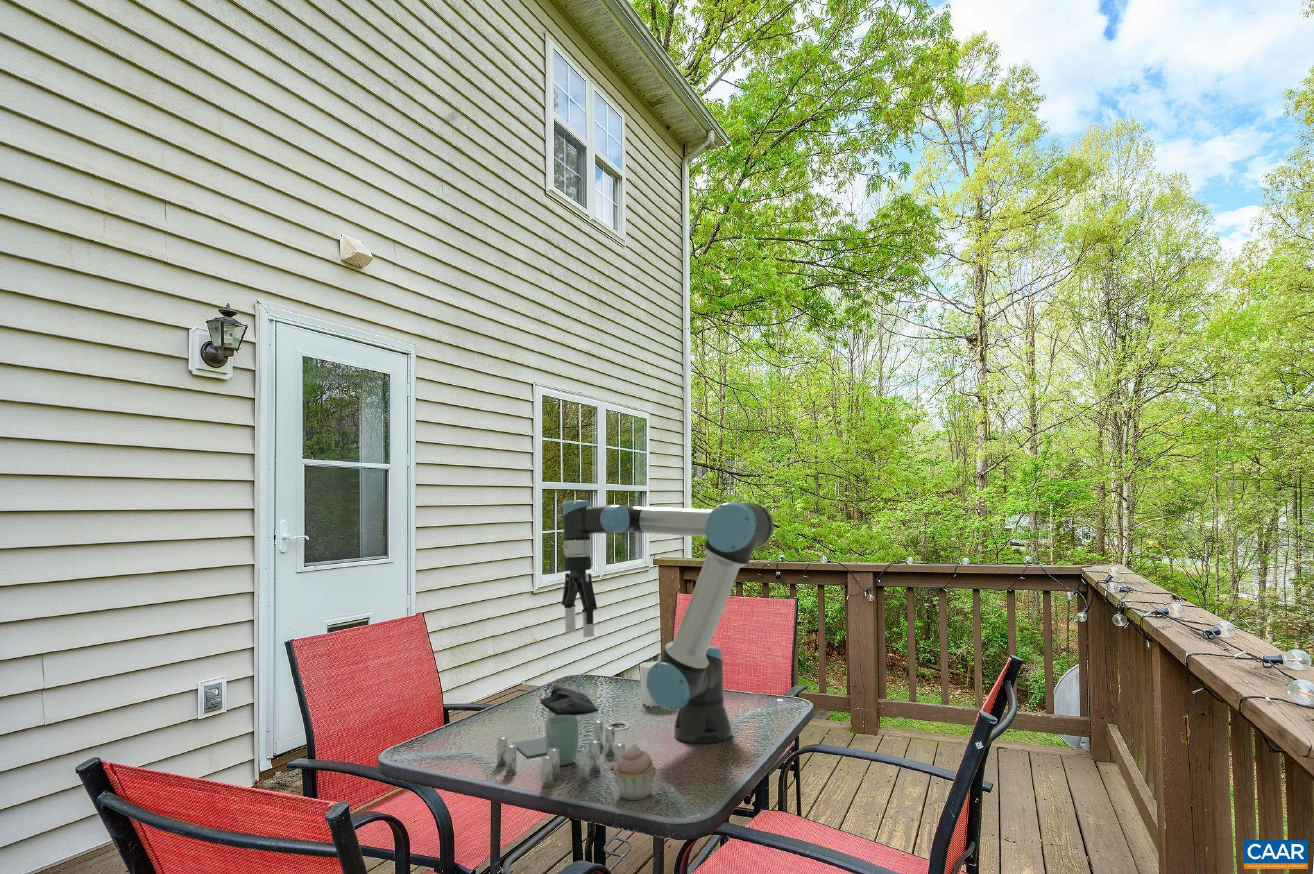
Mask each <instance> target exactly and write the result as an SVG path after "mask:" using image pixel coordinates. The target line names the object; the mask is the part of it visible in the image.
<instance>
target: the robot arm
mask: <svg viewBox="0 0 1314 874" xmlns="http://www.w3.org/2000/svg"><path fill="white" fill-rule="evenodd" d="M562 509H563V510H562V511H563V512H562V522H563V523H562V524H563V544H562V545H561V546H562V548H563V555H564V556H565V557H564V558H563V565H564V566H563V569H564V571H565V575H564V578H565V579H564V587H563V593H562V598H561V599H562V601H561V606H563V608H564V610H565V611H564V612H565V613H564V615H565V617H564V619H565V624H564V625H565V633H571V632H573V633H574V632H576V604H575V603H576V599H577V595H579V598H580V601H581V604H582V608H583V609H582V610H581V613H582V630H583V632H582V637H583V638H591V637H594V636H595V630H594V627H595V626H594V611H595V610H597V609H598V606H597V601H596V596H595V590H594V586H593V582H592V581H593V580H592V574H591V573H587V571H588V570H589V571H590V570H591V569H592V557H591V556H590V555H591V554H592V542H591V535H592V534H593V535H595V534H616V533H617V534H619V533H638V534H655V535H657V534H658V535H673V536H684V537H685V536H686V537H687V536H689V537H703V538H706V540H705V543H704V546H703V548H704V550H705V552H706V557H705V560H704V562H703V565H702V567H701V570H700V572H699V576H698V578H697V580H696V583H695V584H694V585H695V586H694V588H693V591H692V594H691V595H690V597H689V598H690V599H689V601H688V603H687V606H686V609H685V610H684V611H685V612H684V614H683V617H682V619H681V622H680V623H679V627H678V629H677V631H676V634H675V636H674V639H673V641H670V642H668V643H666V644H665V647H664V648H663V651H662V654H661V657H660V659H659V662H657V663H655V664H654V665H653V666H652V667H651V668H650V669H649V671H648V674H647V678H646V685H647V690H648V691H649V693H650V697H651V698H652V700H653V701H654V702H655V703H656V704H657V705H658V706H660V707H659V708H662V709H664V710H667V711H674V710H677V709H678V711H677V715H676V719H675V723H674V728H673V730H674V732H673V733H674V737H675V738H676V739H677V740H679V741H682V742H686V743H691V744H712V743H713V744H715V743H720V742H724V741H726V740H728V739H730V738H731V737H732V724H731V721H730V719H729V716H728V712H727V711H726V707H725V703H724V702H725V701H724V675H723V674H724V673H723V672H724V671H723V670H724V669H723V662H724V660H723V653H722V649H721V648H720V647H718V646H714V645H710V644H711V643H712V639H713V638H714V634H715V632H716V630H717V627H718V624H719V621H720V619H721V617H722V614H723V612H724V609H725V607H726V603H727V601H728V600H729V596H730V593H731V591H732V589H733V586H734V584H735V581H736V578H737V576H738V573H739V570H740V569H741V568H743V567H745V566H748V565H749V562H750V560H751V557H752V555H753V552H754V550H755V549H757V548H760V547H762V546H764V545H765V544H766V543H767V542H768V541H769V540H770V539H771V537H772V535H773V532H774V520H773V517H772V515H771V513H770V512H769V511H768V510H767V509H766V508H765V507H764V506H762V505H760V504H759V503H754V502H740V501H729V502H728V501H727V502H726V503H721V504H719V505H717V506H716V507H714V508H712V509H711V508H689V507H688V508H687V507H685V508H683V507H660V506H659V507H658V506H657V507H656V506H639V505H631V506H630V505H629V506H628V505H621V504H608V505H597V506H591V505H590V501H588V500H583V499H582V500H581V499H579V500H568V501H565V502H564V503H563V508H562ZM566 571H567V572H566ZM568 571H569V572H568ZM730 736H731V737H730ZM729 737H730V738H729ZM727 738H728V739H727ZM723 740H724V741H723ZM714 742H715V743H714Z"/></svg>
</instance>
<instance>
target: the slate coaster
mask: <svg viewBox="0 0 1314 874" xmlns="http://www.w3.org/2000/svg"><path fill="white" fill-rule="evenodd" d="M512 744H515V745H516V750H518V751H519V752H520V753H521V752H522V753H521V754H522V755H524V757H526V759H530V758H535V757H541V756H545V755H547V751H546V736H545V737H539V738H534V739H528V740H522V741H515V742H512Z"/></svg>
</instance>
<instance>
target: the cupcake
mask: <svg viewBox="0 0 1314 874" xmlns="http://www.w3.org/2000/svg"><path fill="white" fill-rule="evenodd" d="M627 748H628V749H626V750H625V752H624V753H623V756H622V758H620V760H619V761H618V764H617V768H615V769H614V770H613V771H614V772H613V773H612V774H613V776H614V778H615V780H616V782H617V783H616V784H617V786H618V791H619V794H620V796H621V798H622V799H625V800H630V801H640V800H644V799H646V798H648V797H650V795H651V793H652V790H653V789H652V787H653V782H654V780H655V777H656V775H657V769H658V768H657V767H655V766H654V762H653V760H652V758H651V755H650V753H648V751H645V750H641V748H640V747H639V746H638V745H637V744H636V743H633V745H631V746H629V747H627Z"/></svg>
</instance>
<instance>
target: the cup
mask: <svg viewBox="0 0 1314 874" xmlns="http://www.w3.org/2000/svg"><path fill="white" fill-rule="evenodd" d="M579 721H580V720H579V718H578V717H577V716H576V715H572V714H559V715H553V716H550V717H547V718H546V720H545V737H546V751H547V755H549V749H551V748H559V759H560V767H562V766H568V765H570V764H572V763H574V762H575V761H576V759H577V758H578V751H579V740H580V731H579V730H580V728H579V726H580V725H579Z"/></svg>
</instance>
